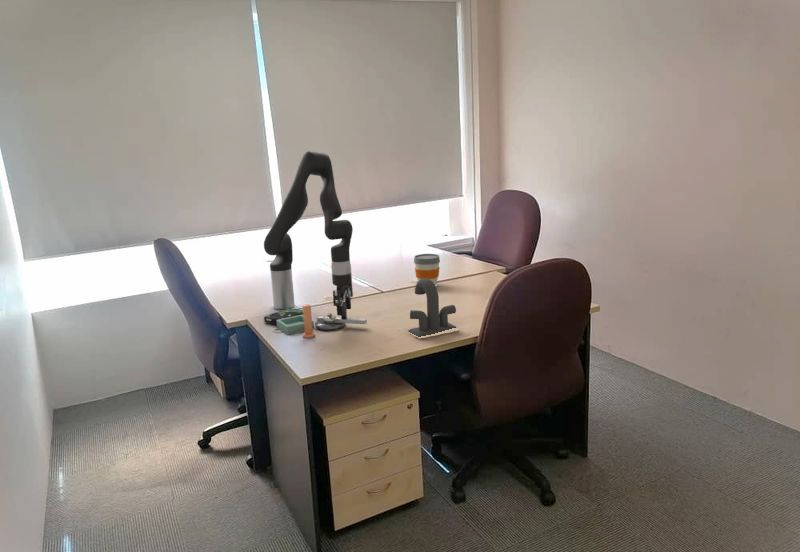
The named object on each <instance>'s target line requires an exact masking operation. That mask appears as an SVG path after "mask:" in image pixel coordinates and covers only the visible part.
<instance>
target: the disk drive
mask: <svg viewBox="0 0 800 552" xmlns="http://www.w3.org/2000/svg"><path fill="white" fill-rule="evenodd" d="M298 315H303V309H299V308H298V309H297V308H288V309H281V310H279V311H277V312H273V313H270V314H269V315H266V316H264V317H263V320H264V323H267V324H271V325H276V326H277V321H276V320H279V319H284V318H288V317H293V316H298Z"/></svg>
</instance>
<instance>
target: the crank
mask: <svg viewBox="0 0 800 552" xmlns="http://www.w3.org/2000/svg"><path fill="white" fill-rule="evenodd" d="M342 306H343V315H342V316H340V317H339V316H337V315H334V314H332V313H327V315H319V316H317V317H316V321H318V322H324V323H326V324H332V323H345V324H350V325H351V324H352V325H353V324H354V325H366V324H367V318H360V317H359V318H357V317H348V314H347V313H348V312H347V310H348V309H346V302H345V301H343V305H342Z"/></svg>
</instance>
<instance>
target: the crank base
mask: <svg viewBox="0 0 800 552" xmlns="http://www.w3.org/2000/svg"><path fill="white" fill-rule="evenodd" d="M346 324H347V323H332V324H326V323H324V322H318V321H317V320H316V321H315V322H314V329H316V330H318V331H321V332H332V331H333V332H334V331H339V330H341V329H344V328H345V327H346Z"/></svg>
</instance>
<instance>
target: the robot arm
mask: <svg viewBox="0 0 800 552" xmlns="http://www.w3.org/2000/svg"><path fill="white" fill-rule="evenodd" d="M310 176H317V177H320V178H321V180H322V189H321V191H320V195H319V202H320V206H321V210H322V213H323V217H324V218H323V219H324V235H325V237H326V238H327V239H328V240H330V241H331V240H332V241H333V240H335V241H336V240H340V242H339V243H337V244H335V245H332V246H331V247H330V255H331V256H330V257H331V278H332V280H331V281H332V285H334V286H336V290H332V298H333V301H332V302H333V303H332V304H333V306H334V307H336V316H337V317H339V316H340V317H341V316H342V315H343V306H342V305H343V302H346V310H351V309H352V302H351V300H352V298H353V297H354V293H353V292H354V291H353V278H352V277H353V276H352V264H351V260H350V259H351V256H350V245H351V240H352V237H353V225H352V223H351V221H350V220H349V219H341V220H340V219H339V220H337V219H338V218H340V217H341V216H342V214H343V210H342V207H341V203H340V202H339V201H340V200H339V198H338V195H337V191H336V185H335V177H334V171H333V165H332V160H331V157H330V156H329V155H328V154H326V153H325V152H319V151H314V150H307V151H305V152H304V153H303V154H302V157H301V159H300V161H299V164H298V166H297V170H296V172H295V176H294V179H293V181H292V184H291V186H290V189H289V190H288V193H287V194H286V196H285V199H284V201H283V202H282V206H281V208H280V210H279V213H278V214H277V216H276V218H275V221H274V223H273V225H272V226H271V228H270V230H269V231H268V233H267V234H266V237H265V238H264V241H263V249H264V251H265V253H266V254H267V255H269V256H275V258H274V259H273V260H272V261H271V262H270V263H269V268H270V269H269V270H270V272H269V273H270V279H271V289H272V290H271V291H272V300H273V301H272V302H273V303H272V304H273V309H276V310H284V309H288V308H291V309H293V307H295V306H296V305H295V293H294V292H295V291H294V281H293V272H292V271H293V270H292V269H293V267H292V264H293V259H294V258H293V255H294V254H293V243H292V242H293V241H292V239H291V235H289V234H288V232H289V231H290V230H291V229H292V228H293V227H294V225H296V224H297V222H298V221H299V220H300V219H301V218H302V216H303V215H304V214H305V211H306V209H307V207H308V203H309V198H308V192H307V182H308V179H309V177H310Z"/></svg>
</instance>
